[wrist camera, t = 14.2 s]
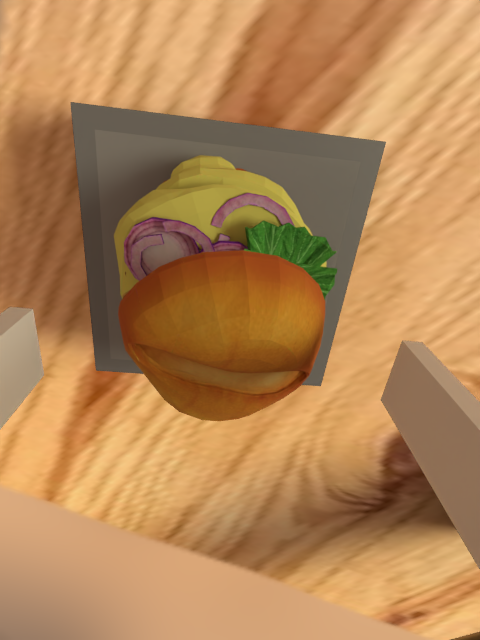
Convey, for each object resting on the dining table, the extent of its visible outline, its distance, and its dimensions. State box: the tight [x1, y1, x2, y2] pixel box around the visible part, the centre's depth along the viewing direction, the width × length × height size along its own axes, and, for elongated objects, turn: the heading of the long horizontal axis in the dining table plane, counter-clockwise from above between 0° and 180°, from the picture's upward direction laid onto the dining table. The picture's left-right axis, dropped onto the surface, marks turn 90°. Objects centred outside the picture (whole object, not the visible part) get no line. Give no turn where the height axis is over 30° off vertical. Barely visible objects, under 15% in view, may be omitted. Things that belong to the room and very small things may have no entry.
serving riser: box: [71, 102, 386, 386], centre depth 22 cm, size 15×15×5 cm
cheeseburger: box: [114, 155, 337, 421], centre depth 17 cm, size 10×11×10 cm
